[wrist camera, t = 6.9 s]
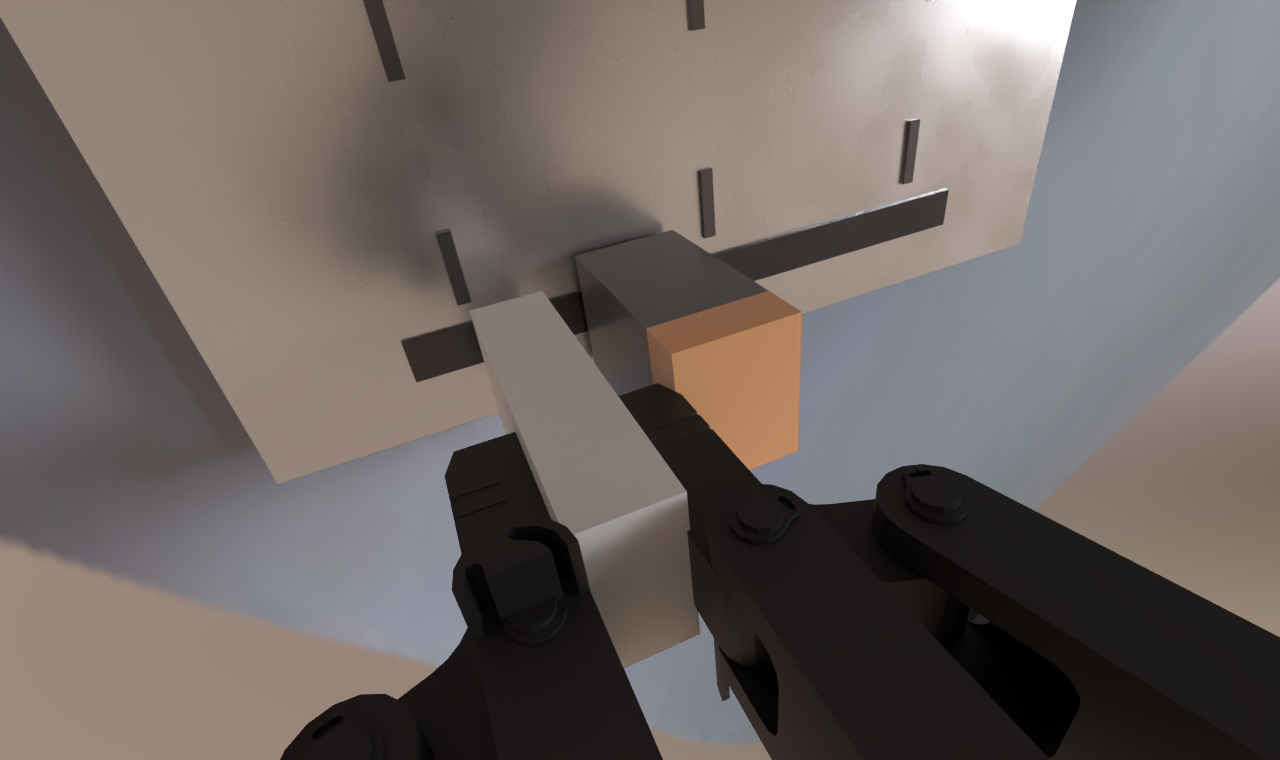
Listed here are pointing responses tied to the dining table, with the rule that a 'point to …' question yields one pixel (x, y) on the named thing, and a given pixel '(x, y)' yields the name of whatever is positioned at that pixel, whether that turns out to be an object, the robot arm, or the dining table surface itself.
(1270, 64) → the dining table surface
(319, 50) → the console
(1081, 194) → the dining table surface
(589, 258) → the fader
